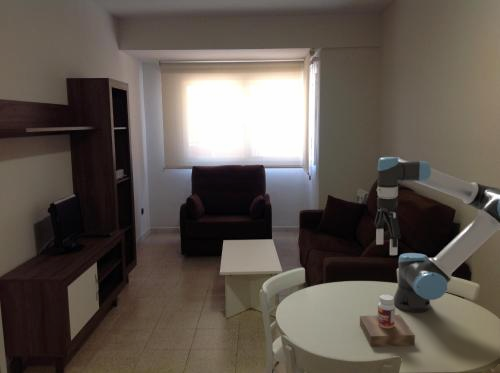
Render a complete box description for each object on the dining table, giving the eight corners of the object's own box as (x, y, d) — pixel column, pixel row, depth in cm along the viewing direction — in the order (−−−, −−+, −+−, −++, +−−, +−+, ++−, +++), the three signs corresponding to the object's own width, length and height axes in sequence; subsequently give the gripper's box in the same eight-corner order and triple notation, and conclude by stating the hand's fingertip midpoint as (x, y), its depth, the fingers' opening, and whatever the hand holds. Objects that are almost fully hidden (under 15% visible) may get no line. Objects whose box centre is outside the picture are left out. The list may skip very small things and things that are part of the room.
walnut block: (399, 324, 176) (399, 314, 176) (414, 345, 161) (414, 335, 160) (359, 325, 176) (359, 316, 176) (370, 346, 161) (370, 336, 160)
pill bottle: (374, 325, 168) (375, 297, 166) (381, 319, 172) (382, 292, 170) (390, 330, 164) (391, 302, 162) (397, 324, 168) (397, 296, 166)
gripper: (366, 191, 183) (366, 240, 187) (391, 204, 158) (390, 260, 162) (384, 190, 184) (383, 239, 187) (411, 202, 159) (409, 259, 163)
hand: (386, 249), depth 175 cm, fingers open, 13 cm apart
